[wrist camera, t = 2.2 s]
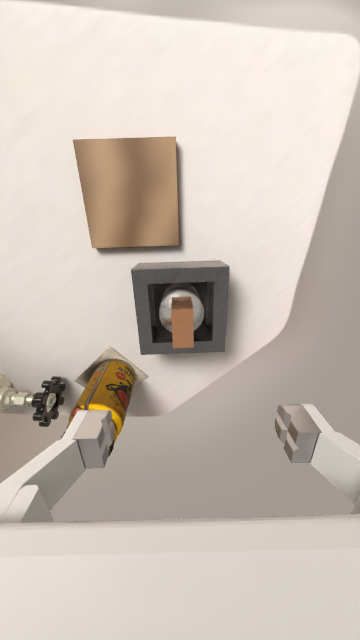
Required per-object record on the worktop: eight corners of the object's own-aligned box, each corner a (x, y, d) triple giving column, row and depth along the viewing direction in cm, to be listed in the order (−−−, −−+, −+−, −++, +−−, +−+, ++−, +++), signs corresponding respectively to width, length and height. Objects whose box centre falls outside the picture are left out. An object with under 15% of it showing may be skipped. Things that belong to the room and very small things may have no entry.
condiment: (147, 375, 33) (133, 449, 22) (112, 405, 35) (82, 486, 24) (110, 346, 30) (73, 410, 19) (75, 379, 33) (23, 455, 22)
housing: (146, 335, 30) (140, 354, 25) (138, 263, 26) (131, 269, 21) (216, 333, 30) (224, 351, 25) (219, 260, 26) (229, 266, 22)
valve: (-9, 398, 34) (68, 401, 34) (-50, 434, 28) (44, 438, 28) (-21, 362, 31) (62, 367, 32) (-69, 394, 25) (36, 399, 26)
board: (95, 247, 25) (92, 248, 24) (77, 143, 21) (72, 139, 21) (178, 244, 25) (179, 245, 24) (175, 140, 22) (175, 136, 21)
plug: (162, 318, 29) (157, 353, 21) (160, 282, 27) (153, 304, 19) (199, 317, 29) (208, 351, 21) (199, 281, 27) (210, 302, 19)
